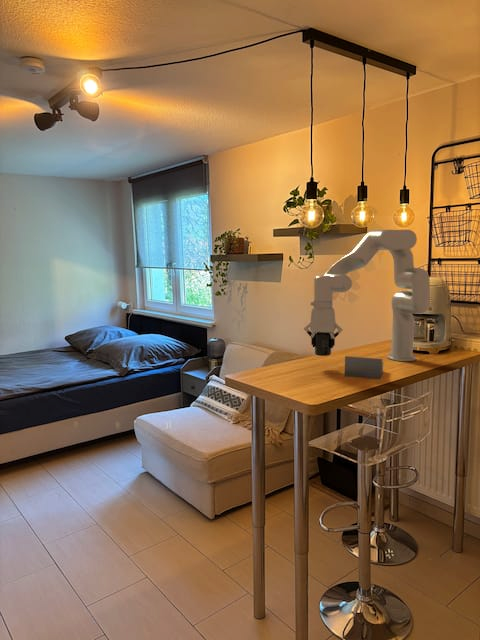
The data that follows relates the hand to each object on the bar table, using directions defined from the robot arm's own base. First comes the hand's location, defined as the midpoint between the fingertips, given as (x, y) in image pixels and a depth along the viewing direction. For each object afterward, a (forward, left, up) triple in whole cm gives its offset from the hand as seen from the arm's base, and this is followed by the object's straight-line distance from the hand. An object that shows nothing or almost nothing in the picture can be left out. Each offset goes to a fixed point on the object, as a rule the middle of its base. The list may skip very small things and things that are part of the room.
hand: (322, 346), depth 196 cm
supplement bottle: (0, 0, -4) cm, 4 cm away
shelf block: (+3, +17, -9) cm, 20 cm away
